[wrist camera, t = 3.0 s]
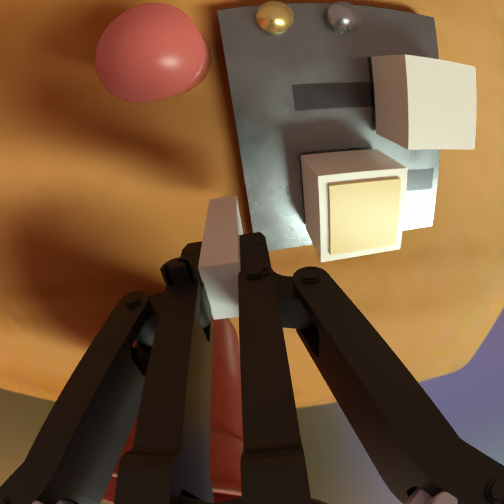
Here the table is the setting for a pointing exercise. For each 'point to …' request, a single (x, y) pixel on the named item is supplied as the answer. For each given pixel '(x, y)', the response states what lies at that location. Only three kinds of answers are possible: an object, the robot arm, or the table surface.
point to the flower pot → (216, 418)
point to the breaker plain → (424, 102)
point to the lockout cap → (151, 54)
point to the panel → (316, 101)
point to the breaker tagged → (353, 202)
